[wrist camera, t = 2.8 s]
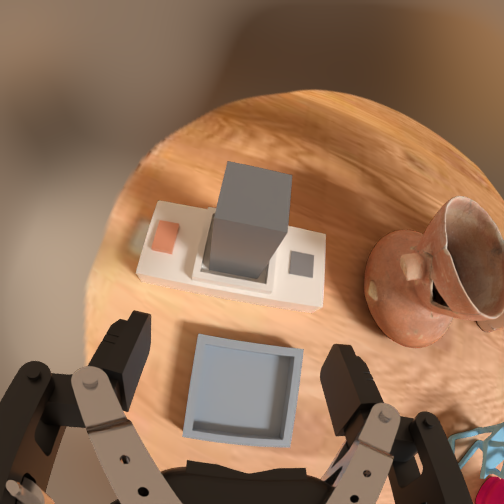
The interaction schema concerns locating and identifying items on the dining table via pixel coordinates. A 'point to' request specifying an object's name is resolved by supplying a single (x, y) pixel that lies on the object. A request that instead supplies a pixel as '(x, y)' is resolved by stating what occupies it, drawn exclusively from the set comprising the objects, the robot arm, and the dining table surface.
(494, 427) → the chair
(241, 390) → the tray
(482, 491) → the pepper mill
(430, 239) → the ceramic jug
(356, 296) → the dining table surface
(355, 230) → the dining table surface
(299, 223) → the dining table surface
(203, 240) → the white rectangular base
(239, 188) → the block
